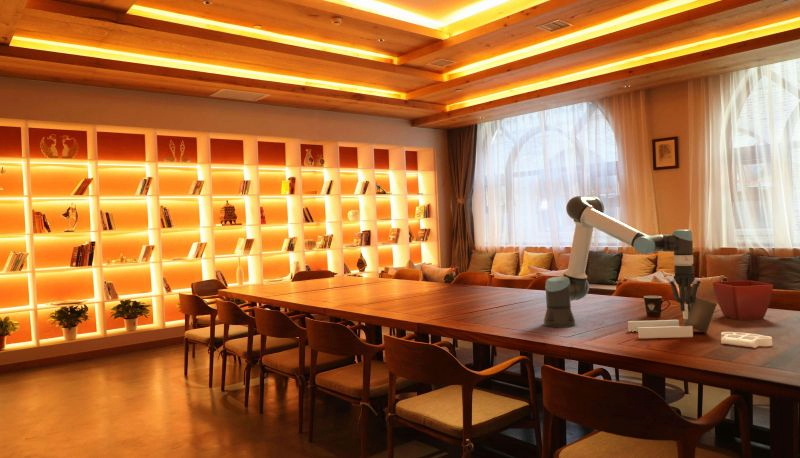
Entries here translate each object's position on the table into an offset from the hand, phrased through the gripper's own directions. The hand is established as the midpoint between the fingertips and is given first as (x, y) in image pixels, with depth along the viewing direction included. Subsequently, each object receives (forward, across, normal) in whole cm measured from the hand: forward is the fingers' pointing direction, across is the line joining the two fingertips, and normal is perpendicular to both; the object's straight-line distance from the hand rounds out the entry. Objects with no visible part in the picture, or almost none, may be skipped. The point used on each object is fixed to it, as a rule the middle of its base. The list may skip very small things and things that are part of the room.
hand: (685, 318), depth 242 cm
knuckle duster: (+7, +14, -20) cm, 26 cm away
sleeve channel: (+7, -11, +1) cm, 13 cm away
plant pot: (+5, +40, +33) cm, 52 cm away
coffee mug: (+6, +2, +42) cm, 42 cm away
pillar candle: (+5, +4, +1) cm, 6 cm away
